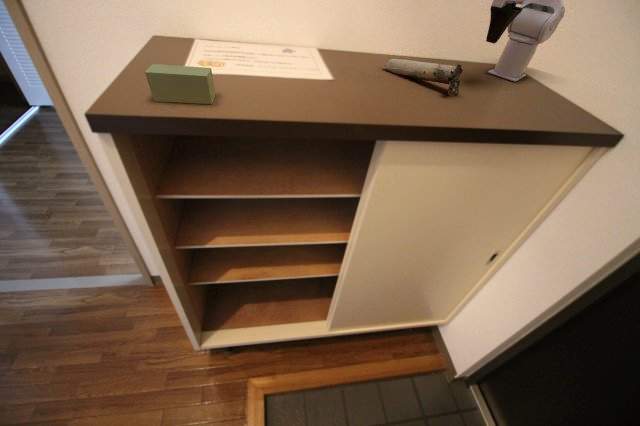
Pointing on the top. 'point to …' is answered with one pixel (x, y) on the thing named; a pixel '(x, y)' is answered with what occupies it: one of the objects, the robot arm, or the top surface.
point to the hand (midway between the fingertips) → (490, 42)
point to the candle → (428, 72)
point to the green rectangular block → (181, 84)
